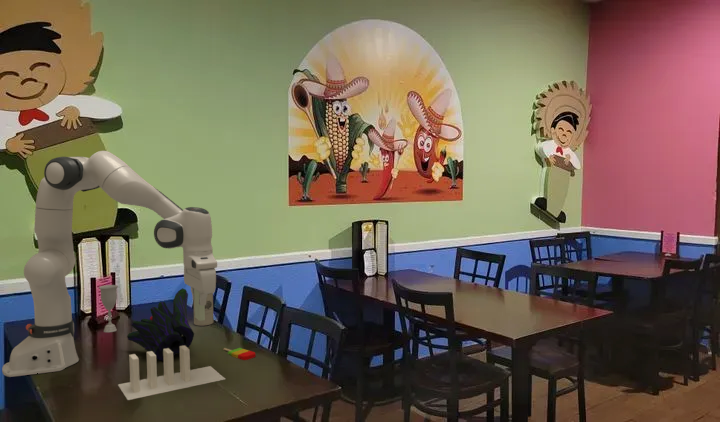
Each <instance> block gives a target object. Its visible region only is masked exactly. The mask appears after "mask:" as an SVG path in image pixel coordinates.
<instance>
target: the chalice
mask: <svg viewBox="0 0 720 422" xmlns="http://www.w3.org/2000/svg"><path fill="white" fill-rule="evenodd" d="M118 288H119V286H118V285H115V284H106V285H101V286H99V289H100V300H101V302H102V303H101V304H102V305H103V306H104V308H105V310H107V316H108V317H107V321H108V323H107V324H106V325H105V326H104V328H103V333H113V332H114V333H115V332H117V327H116V325H115V324H114V323H112V319H113V318H112V312H111V311H112V309H114V307H115V305H116V303H117V299H118Z"/></svg>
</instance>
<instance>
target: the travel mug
mask: <svg viewBox="0 0 720 422" xmlns="http://www.w3.org/2000/svg"><path fill="white" fill-rule="evenodd" d="M192 301H193V300H192ZM193 324H194V325H195V326H199V327H202V326H203V327H204V326H210V325H212V324H214V293H211V294H208V295H207V299H206V305H205V320H203V321H199V320H198V319H196V318H195V305H194V301H193Z"/></svg>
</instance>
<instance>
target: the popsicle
mask: <svg viewBox="0 0 720 422" xmlns="http://www.w3.org/2000/svg"><path fill="white" fill-rule="evenodd" d="M223 351H226V352H227V355H229V356H230V357H232V358H236V359H239V360H242V361H249V360H251V359H253V358H255V357H256V352H255V351H252V350H249V349H244V348H242V347H238V348H235V349H230V348H226V347H224V348H223Z"/></svg>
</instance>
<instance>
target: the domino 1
mask: <svg viewBox="0 0 720 422" xmlns="http://www.w3.org/2000/svg"><path fill="white" fill-rule="evenodd" d="M128 356H129V357H128V359H129V382H130V388H131V389H132V390H133V392H134V393H136V392H140V381H139V380H140V359H139V357H138V356H137V355H136V353H132V354H129V355H128Z"/></svg>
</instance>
